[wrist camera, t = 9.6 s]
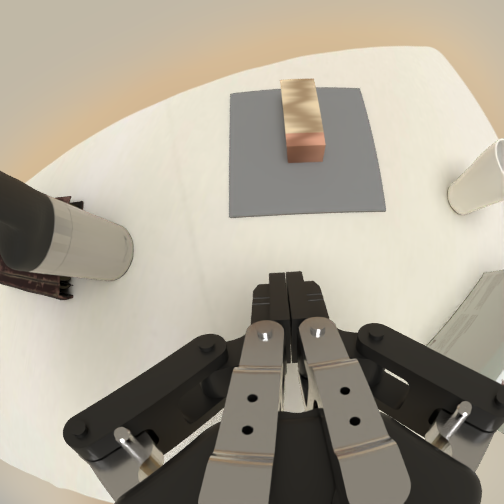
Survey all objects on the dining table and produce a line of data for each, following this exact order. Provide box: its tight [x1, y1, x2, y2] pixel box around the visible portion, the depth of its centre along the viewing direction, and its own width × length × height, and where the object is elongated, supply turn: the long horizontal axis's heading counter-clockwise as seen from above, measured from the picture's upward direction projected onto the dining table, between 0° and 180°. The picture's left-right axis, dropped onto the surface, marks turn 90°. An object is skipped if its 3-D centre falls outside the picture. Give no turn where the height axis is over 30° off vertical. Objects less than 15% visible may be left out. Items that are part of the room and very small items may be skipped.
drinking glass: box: [448, 138, 504, 215], centre depth 27 cm, size 7×7×15 cm
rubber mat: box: [229, 88, 386, 218], centre depth 39 cm, size 22×22×1 cm
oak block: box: [280, 79, 326, 163], centre depth 37 cm, size 5×5×12 cm
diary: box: [0, 196, 83, 300], centre depth 43 cm, size 19×25×5 cm
